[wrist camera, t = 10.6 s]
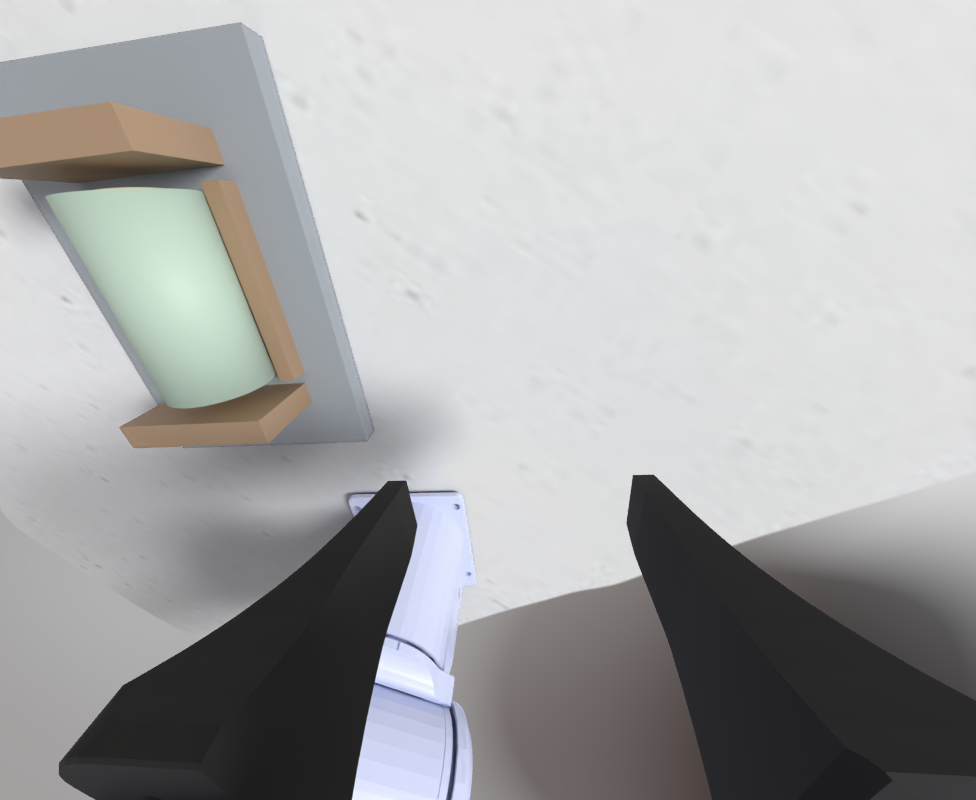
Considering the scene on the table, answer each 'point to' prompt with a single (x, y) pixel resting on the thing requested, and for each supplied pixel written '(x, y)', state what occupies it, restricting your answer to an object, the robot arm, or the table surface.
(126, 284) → the roll
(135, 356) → the holder
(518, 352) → the table surface
